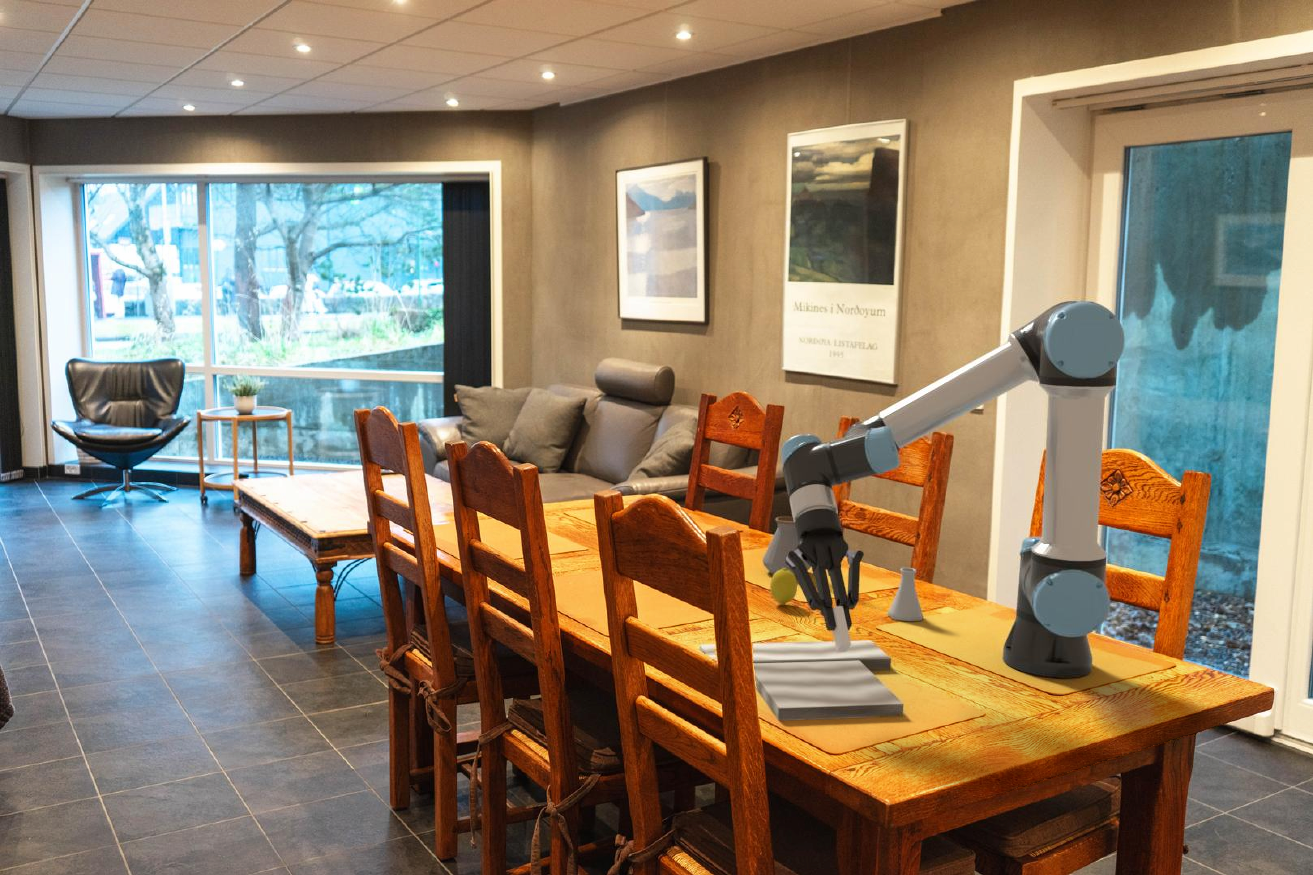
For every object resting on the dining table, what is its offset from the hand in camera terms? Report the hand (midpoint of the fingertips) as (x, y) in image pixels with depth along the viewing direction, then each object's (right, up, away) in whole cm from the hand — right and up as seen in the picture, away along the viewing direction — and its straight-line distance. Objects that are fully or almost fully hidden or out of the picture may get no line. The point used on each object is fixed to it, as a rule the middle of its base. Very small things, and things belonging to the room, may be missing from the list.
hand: (843, 648), depth 169 cm
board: (-4, -7, +26) cm, 27 cm away
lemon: (-2, -3, +61) cm, 61 cm away
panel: (-2, -10, +11) cm, 15 cm away
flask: (+22, -5, +56) cm, 60 cm away
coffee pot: (+4, 0, +83) cm, 83 cm away
